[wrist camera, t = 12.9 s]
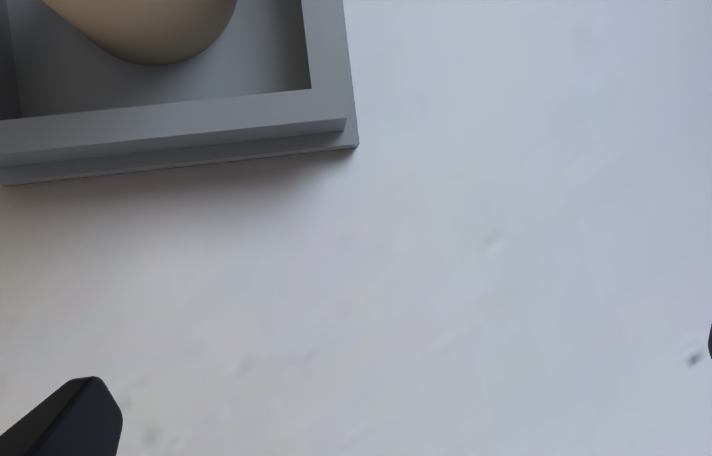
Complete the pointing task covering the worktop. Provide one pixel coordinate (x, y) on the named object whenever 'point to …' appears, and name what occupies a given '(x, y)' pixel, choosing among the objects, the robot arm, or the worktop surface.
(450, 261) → the worktop surface
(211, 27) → the beige knobbed cylinder
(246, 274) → the worktop surface
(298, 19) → the grey rimmed tray
